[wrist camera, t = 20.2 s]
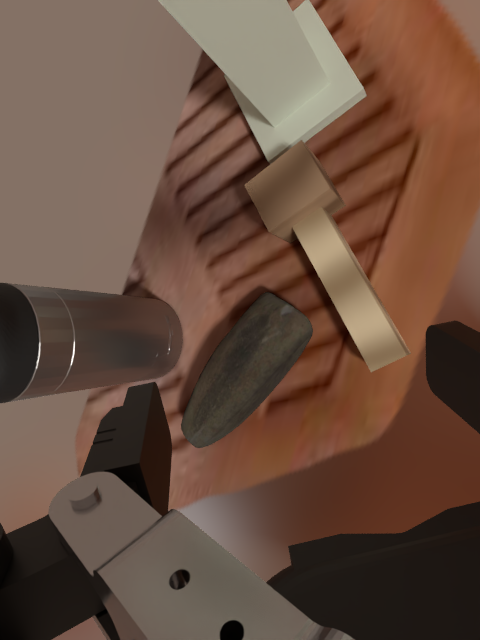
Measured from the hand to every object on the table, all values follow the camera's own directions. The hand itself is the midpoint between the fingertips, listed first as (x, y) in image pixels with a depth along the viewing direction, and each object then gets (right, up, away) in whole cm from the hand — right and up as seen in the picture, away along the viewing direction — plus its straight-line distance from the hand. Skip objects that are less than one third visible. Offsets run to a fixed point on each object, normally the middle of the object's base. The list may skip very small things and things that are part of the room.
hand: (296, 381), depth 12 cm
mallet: (+7, +7, +25) cm, 26 cm away
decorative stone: (0, -4, +29) cm, 29 cm away
